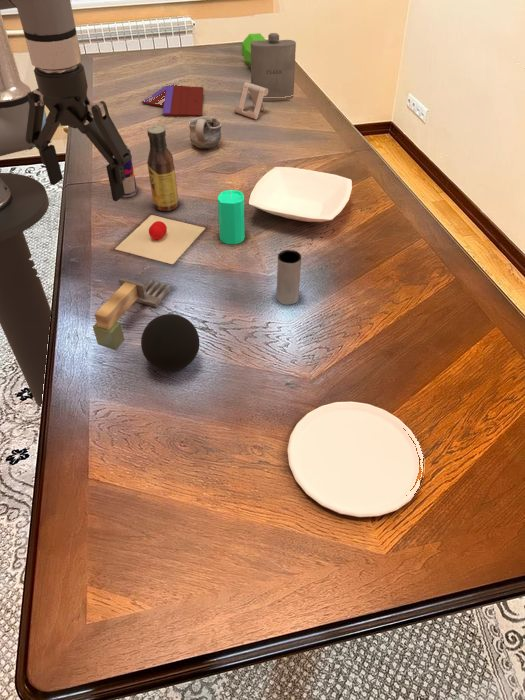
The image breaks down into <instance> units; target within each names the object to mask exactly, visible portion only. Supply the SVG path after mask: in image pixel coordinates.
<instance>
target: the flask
mask: <svg viewBox="0 0 525 700" xmlns="http://www.w3.org/2000/svg"><path fill="white" fill-rule="evenodd" d="M267 37H268V39H267V41H260V40H258V41H253V42H251V67H250V83H251V84H254V85H257V86H261V87H264V88H267V89H268V94H267V95H266V96H263V97H285V96H291V95H293V94H295V71H296V70H295V69H296V51H297V50H296V49H297V42H296V41H295V40H292V39H280V35H279V33H277V32H271V33H269V34H268V35H267ZM293 98H294V95H293V96H291V97H286V98H263V100H262V101H263V102H283V101H289V100H292V99H293Z"/></svg>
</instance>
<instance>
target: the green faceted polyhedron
mask: <svg viewBox="0 0 525 700" xmlns="http://www.w3.org/2000/svg"><path fill="white" fill-rule="evenodd" d="M258 40H260V41H268V39H266V38H265V37H264V36H263V35H262V34H261V33H249V34H248V35H247V36H246V37H245V38H244V40H243V41H242V42H241V56H242V57H243V59H244V62H245V63H246V64H247V66H249V65H250V66H251V42H253V41H258ZM250 66H249V67H250Z"/></svg>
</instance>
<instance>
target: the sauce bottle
mask: <svg viewBox="0 0 525 700" xmlns="http://www.w3.org/2000/svg"><path fill="white" fill-rule="evenodd" d="M146 130H147V131H146V132H147V136H148V141H149V152H148V156H147V161H146V164H147V171H148V178H149V183H150V188H151V189H150V190H151V197H152V202H153V204H154V205H153V206H154V207H155V209H156V210H157V211H161V212H170V211H174V210H176V208H177V207H178V205H179V194H178V186H177V178H176V177H177V175H176V168H175V163H174V156H173V154H172V153H171V151H170V150H169V149H168V148H167V147H168V144H167V139H166V136H167V134H166V133H167V132H166V128H165V127H164V126H162V125H152V126H149V127H148V128H147V129H146Z"/></svg>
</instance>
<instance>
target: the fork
mask: <svg viewBox="0 0 525 700" xmlns="http://www.w3.org/2000/svg"><path fill="white" fill-rule="evenodd" d="M118 281H119V285H120V287H118V289H117V290H116V291H115V292H114V293H113V294H111V296H110V297H109V298H108V299H107V300H106V301H105V302H104V303H103V304H102V306H100V308H98V310H97V311H96V312H95V313H94V318H95V321H96V323H97V325H98V327H101V328H105V329H108V330H109V329H110V328H111V327H112V326H113V325H114V324H115V323H116V322H119V320H120V319H121V318H122V316H123V315H124V314H125V313H126V312H127V311H128V310H129V309H130V308H131V306H132V305H134V303H138V304H142V305H146V306H149V307H152V308H157V307H158V306H159V305H160V303H161V302H162V301H163V300H164V298H165V297H166V296H167V294H168V293H169V292H171V290H172V287H171V285H170V284H167V286H166V284H165V283H163V282H162V283H160V282H159V281H155V282H154V280H152V279H150V280H149V281H147V283H146V284H145V283H142V282H139V281H137V280H136V281H135V280H132V279H128V278H124V277H120V278H119V279H118Z"/></svg>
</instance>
